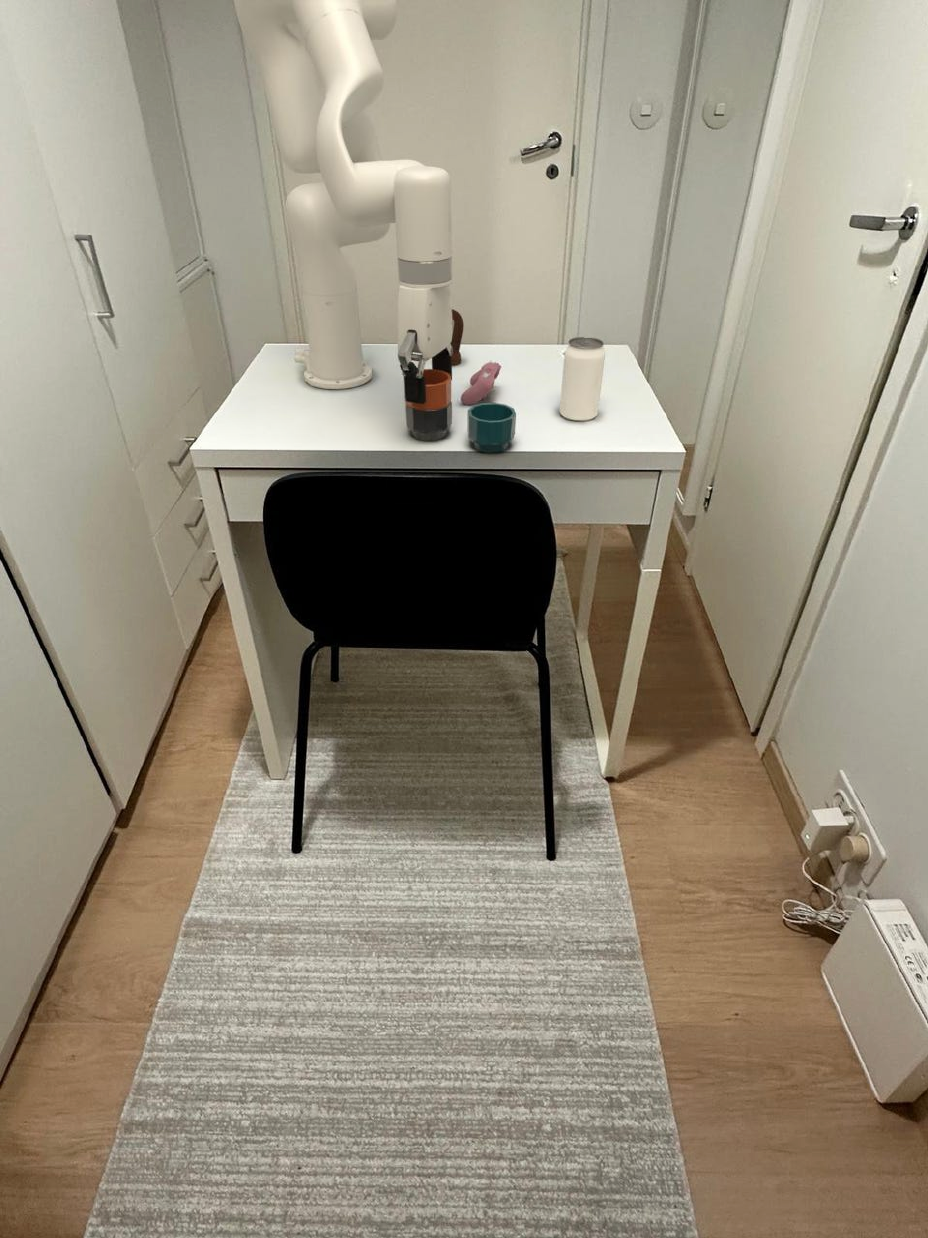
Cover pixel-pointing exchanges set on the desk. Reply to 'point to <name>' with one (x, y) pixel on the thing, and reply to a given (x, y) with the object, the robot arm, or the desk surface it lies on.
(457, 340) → the chess piece
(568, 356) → the can
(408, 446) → the desk surface
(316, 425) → the desk surface
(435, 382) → the middle bowl
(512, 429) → the top bowl
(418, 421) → the bottom bowl
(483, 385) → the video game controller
